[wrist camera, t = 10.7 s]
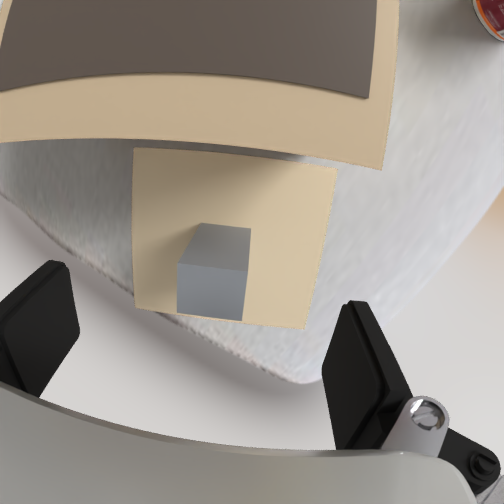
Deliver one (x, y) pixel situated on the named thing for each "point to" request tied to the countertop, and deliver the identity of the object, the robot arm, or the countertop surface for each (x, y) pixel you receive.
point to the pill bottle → (491, 16)
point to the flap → (228, 235)
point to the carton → (203, 73)
